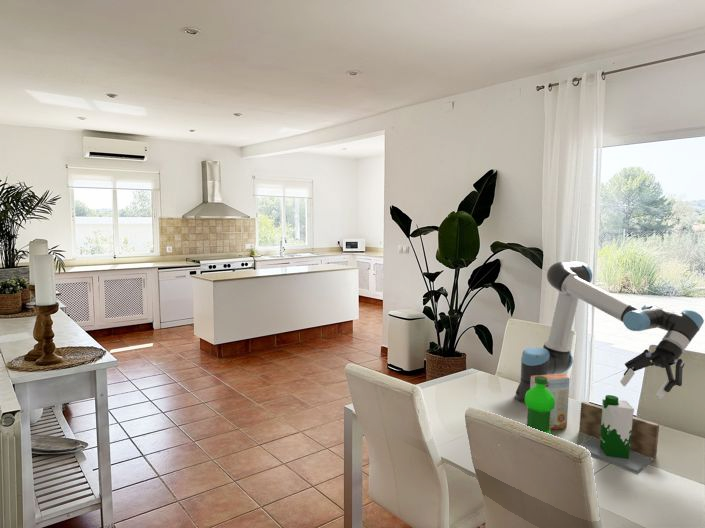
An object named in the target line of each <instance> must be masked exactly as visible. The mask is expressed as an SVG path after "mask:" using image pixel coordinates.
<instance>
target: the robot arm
mask: <svg viewBox="0 0 705 528" xmlns="http://www.w3.org/2000/svg"><path fill="white" fill-rule="evenodd" d="M546 279H547V281H548V284H549V285H550V286H551V287H552V288H554V289H556V290H557V292H558V295H557V299H556V302H555V307H554V313H553V317H552V321H551V325H550V331H549V336H548V340H545V342H543V347H533V346H532V347H528V348H526V349H523V351H522V355H521V360H520V361H521V364H520V367H521V368H520V379H519V380H520V382H519V383H518V386H517V388H516V391H515V399H516V400H517V401H519V402H521V403H523V404H525V394H526V392H527V391H528V390H530V380H531V376H535V375H549V374H562V373H564V372H567V371H568V370H569V369H570V368H571V367H572V365H573V361H574V359H573V355H572V353H571V347H570V346H569V341H570V337H571V334H572V327H573V324H574V320H575V315H576V312H577V311H576V310H577V308H578V307H577V306H578V302H579V300H581V301H582V302H585V303H587V304H589V305H591V306H592V307H594V308H596V309H598V310H600V311H601V312H604V313H605V314H607V315H609V316H610V317H613V318H615V319H616V320H618V321H620V322H622V323H623V325H624V326H625V328H626V329H627V330H629V331H631V332H642V331H646V330H651V329H656V328H658V329H661V330H662V331H663V330H664V331H667V332H666V333H665V334H664V336H663V337H662V339H661V340H660V341H659V343H658V344H657V345H656V347H655V350H654V351H653V352H652V351H649V349H647V348H646V349H644V350H643V351H642V353H639V355H636V356H634V357H633V358H631V359H630V360H628V361H627V362H625V363H624V366H625V367H626V369H625V371H624V373H623V376H622V378H621V379H620V384H621V385H622V386H623V387H626V386H627V385H628V383H629V382H630V381H631V379H632V378H633V376H634V375H635V374H636V373H635V372H637V371H639V370H642V369H644V368H648V367H653V366H655V367H660V368H661V369H664V368H665V372H666V375H667V376H666V377H667V380H664V382H663V383H662V385H661V386H660V388H659V389H658V390H657V392H655V396H656V397H657V399H658V400H662V399H663V398H664V396H665V394H666V393H669V392H671V390H672V388H673V387H674V386H678V387H682V386H683V368H685V367H684V366H685V362H684V360H683V359H682V358H680V357H681V355H683V353H684V351H685V350H686V348H687V347H688V346H689V344H690V343H691V341H692V340H693V339H694V337H695V336H696V335H697V333H698V332H700V330H701V327H702V326H703V324H704V321H705V319H704V318H703V316H702V315H701V314H700V313H698V312H697V311H694V310H692V309H685V310H683V311H681V312H680V313H678V312H674V311H671V310H669V309H668V310H667V309H666V308H665V309H664V308H662V307H659V306H657V305H651V304H645V305H643V306H642V307H641V308H640V307H638V306H636V305H634V304H632V303H630V302H628V301H626V300H624V299H622V298H620V297H618V296H616V295H614V294H612V293H610V292H608V291H606V290H604V289H602V288H600V287H598V286H595V285H594V284H592V280H593V272H592V269H591V268H590V266H589V265H587V264H586V263H584V262H581V261H576V260H574V261H561V262H559V261H558V262H555V263H553V264H551V266H550V267H549V268H548V270H547V272H546ZM672 365H675V371H674V372H675V373H674V374H673V371H672V370H673V369H672V367H671V366H672ZM674 375H675V376H674Z"/></svg>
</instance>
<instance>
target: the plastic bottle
mask: <svg viewBox="0 0 705 528" xmlns="http://www.w3.org/2000/svg"><path fill="white" fill-rule="evenodd" d="M535 383H536V386H535V387H533V388H531V389H530V390H528V391H527V392H526V394H525V403H524V404H525V406H526V407H527V415H526V417H527V418H526V425H527V426H530V427H532V428H535V429H538V430H540V431H543V432H546V433H549V434H551V435H552V430H550V429H549V423H550V411H551V410H553V409H554V406H555V398H554V395H553V394H552V393H551V392H550V391H549V390H548V389H547V388H545V384H547V378H546V377H543V376H535ZM526 425H525V426H526Z"/></svg>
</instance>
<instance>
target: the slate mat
mask: <svg viewBox="0 0 705 528" xmlns="http://www.w3.org/2000/svg"><path fill="white" fill-rule="evenodd" d="M579 445H581V446H583V447H585V448H586V449H588V450H589V451H590V453H591V455H592V457H594V458H597V459H599V460H601V461H602V460H603V461H604V462H607V463H609V464H612V465H615V466H617V467H620V468H623V469H625V470H628V471H630V472H633V473H636V474H638V473H640V472H641V471H642V470H643V469H644V468H645V467H647V466H648V465H649V464H650V463H651V462H652V461H653V458H650V457H647V456H644V455H642V454H639V453H636V452H633V451H629V459H627V458H619V457H610V456H606V455H605V453H604V452H603V450H602V449H601V447H600V439H597V438H594V437H590V438H588V439H587V440H585V441H584V442H582V443H581V444H579ZM591 455H590V456H591Z"/></svg>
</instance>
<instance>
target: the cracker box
mask: <svg viewBox="0 0 705 528" xmlns="http://www.w3.org/2000/svg"><path fill="white" fill-rule="evenodd" d="M535 376H543V377H546V378H547V384H545V388H547V389H548V390H549V391H550V392H551V393H552V394H553V395H554V398H555V406H554V409H553V410H551V411H550V423H549V429H550V431H552V430H551V429H554V430H562V429H563V430H564V429H567V428H568V427H567V426H568V410H569V392H570V377H568V376H566V375H564V374H562V373H559V374H549V375H535ZM535 376H531V380H530V389H531V388H533V387H535V386H536V383H535Z"/></svg>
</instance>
